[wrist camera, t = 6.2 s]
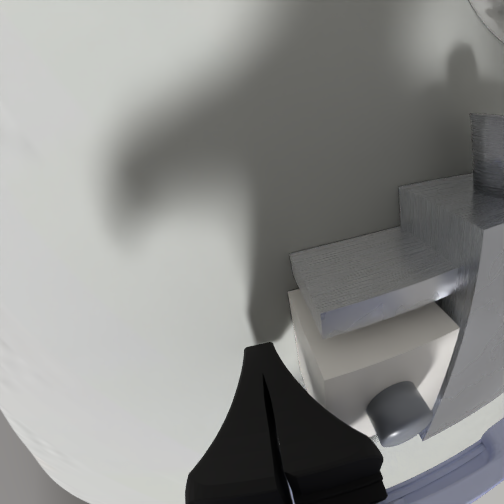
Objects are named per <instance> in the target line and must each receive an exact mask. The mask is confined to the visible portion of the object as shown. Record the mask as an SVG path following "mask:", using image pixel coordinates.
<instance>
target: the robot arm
mask: <svg viewBox="0 0 504 504" xmlns="http://www.w3.org/2000/svg"><path fill="white" fill-rule="evenodd" d="M278 439H279V440H278ZM382 463H383V456H382V454H381V452H380V451H379V449H378V448H377V446H376V445H375V444H374V443H373V442H372V440H371V439H370V438H369V437H368V436H367V435H365V434H363V433H361V432H359V431H357V430H356V429H354V428H352V427H351V426H349V425H347V424H346V423H344V422H343V421H341V420H340V419H338V418H337V417H336V416H334V415H333V414H332V413H330V412H329V411H328V410H326V409H325V408H324V407H323V406H322V405H320V404H319V403H318V402H317V401H316V400H315V399H314V398H313V397H312V396H310V395H309V394H308V393H307V392H306V390H305V389H304V388H303V387H302V386H301V385H300V384H299V383H298V382H297V380H296V379H295V378H294V377H293V376H292V374H291V373H290V372H289V370H288V369H287V368H286V366H285V365H284V363H283V362H282V360H281V359H280V357H279V355H278V354H277V352H276V350H275V347H274V345H273V343H272V342H267V343H263V344H259V345H254V346H250V347H246V348H245V349H244V359H243V366H242V371H241V375H240V379H239V383H238V387H237V390H236V393H235V396H234V399H233V402H232V404H231V407H230V410H229V412H228V414H227V416H226V419H225V421H224V423H223V425H222V427H221V429H220V430H219V432H218V434H217V436H216V438H215V439H214V441H213V442H212V444H211V445H210V447H209V448H208V450H207V451H206V453H205V454H204V456H203V457H202V459H201V460H200V461H199V462H198V464H197V465H196V466H195V467H194V468H193V470H192V471H191V472H190V473H189V475H188V479H187V484H186V490H185V502H186V504H471V503H472V502H474V501H475V500H477V499H478V498H480V497H481V496H483V495H484V494H486V493H487V492H488V491H490V490H491V489H492V488H494V487H495V486H497V485H498V484H499V483H500V482H502V481H503V480H504V418H503V419H501V420H500V421H498V422H497V423H496V424H494V425H493V426H492V427H490V428H489V429H488V430H487V431H486V432H485V433H484V434H483V436H482V437H481V439H480V440H479V441H477V442H476V443H474V444H473V445H471V446H469V447H468V448H466V449H465V450H463V451H461V452H460V453H458V454H456V455H455V456H453V457H451V458H449V459H448V460H446V461H444V462H442V463H440V464H439V465H437V466H435V467H433V468H431V469H429V470H427V471H425V472H423V473H421V474H419V475H417V476H415V477H413V478H411V479H409V480H406V481H404V482H402V483H400V484H397V485H395V486H393V487H390V488H388V489H385V487H384V484H383V482H382V480H383V477H382V475H381V472H380V468H381V466H382Z"/></svg>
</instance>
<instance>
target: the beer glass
mask: <svg viewBox="0 0 504 504" xmlns="http://www.w3.org/2000/svg"><path fill="white" fill-rule="evenodd" d="M469 2H470V3H471V5H472V7H473V8H474V10H475V12H476V13H477V15H478V16H479V18H480V19H481V20H482V22H483V23H484V24H485V26H486V27H487V28H488V29H489V30H490V31H491V32H492V33H493V34H494V35H495V36H496V37H497V38H498V39H499V40H501V41H502V42H503V43H504V0H469Z"/></svg>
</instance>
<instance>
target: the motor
mask: <svg viewBox="0 0 504 504" xmlns="http://www.w3.org/2000/svg"><path fill="white" fill-rule="evenodd" d="M470 123H471V135H472V153H473V173H470V174H464V175H458V176H452V177H447V178H441V179H436V180H431V181H425V182H420V183H415V184H409V185H404V186H399V206H400V226H398V227H394V228H390V229H386V230H383V231H379V232H375V233H371V234H367V235H363V236H359V237H355V238H351V239H347V240H343V241H339V242H335V243H331V244H327V245H323V246H319V247H315V248H311V249H307V250H303V251H299V252H295V253H291V254H290V260H291V266H292V271H293V276H294V278H295V281H296V283H297V285H298V287H299V289H300V291H301V293H302V295H303V297H304V300H305V302H306V304H307V306H308V308H309V310H310V313H311V315H312V317H313V319H314V321H315V323H316V326H317V328H318V330H319V332H320V334H321V336H322V339H326V338H329V337H333V336H336V335H340V334H343V333H346V332H349V331H352V330H356V329H359V328H362V327H365V326H368V325H371V324H374V323H377V322H380V321H383V320H386V319H388V318H391V317H394V316H397V315H400V314H402V313H405V312H408V311H410V310H413V309H416V308H418V307H421V306H423V305H426V304H429V303H431V302H435V303H436V304H437V305H438V306H439V307H440V308H441V309H442V310H443V311H444V312H445V313H446V314H447V315H448V316H449V317H450V318H451V319H452V320H453V321H454V322H455V323H456V324H457V325H458V326H459V327H460V330H459V333H458V337H457V341H456V344H455V347H454V351H453V354H452V357H451V360H450V363H449V366H448V369H447V372H446V375H445V378H444V380H443V383H442V386H441V388H440V391H439V394H438V396H437V399H436V401H435V404H434V406H433V408H432V410H431V412H432V413H433V418H432V420H431V421H430V423H429V424H428V425H427V426H426V428H424V429H423V430H422V431H421V432H420V433H419V435H420V437H421V439H422V441H424V440H426V439H428V438H430V437H432V436H434V435H436V434H438V433H440V432H441V431H443V430H445V429H447V428H449V427H451V426H452V425H454V424H456V423H458V422H459V421H461V420H463V419H464V418H466V417H468V416H469V415H471V414H472V413H474V412H476V411H477V410H479V409H480V408H482V407H483V406H485V405H486V404H488V403H489V402H491V401H492V400H494V399H495V398H497V397H498V396H499V395H501V394H502V393H504V116H502V115H494V114H481V113H470Z"/></svg>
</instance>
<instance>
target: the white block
mask: <svg viewBox="0 0 504 504" xmlns="http://www.w3.org/2000/svg"><path fill="white" fill-rule="evenodd" d="M288 297H289V303H290V309H291V315H292V321H293V327H294V333H295V340H296V346H297V353H298V359H299V366H300V371H301V374H302V377H303V380H304V383H305V386H306V389H307V392H308V394H309V395H310V396H312V397H313V398H314V399H315V400H316V401H317V402H318V403H319V404H320V405H322V406H323V407H324V408H325V409H326V410H328V411H329V412H330V413H332V414H333V415H334V416H336V417H337V418H338V419H340V420H341V421H343V422H344V423H346V424H347V425H349V426H351V427H352V428H354V429H356V430H357V431H359V432H361V433H363V434H365V435H367V436H368V437H371V436H373V435H376V434H377V436H378V438H379V441H380V443H381V445H382V446H383V447H392V446H396V445H399V444H401V443H404V442H406V441H408V440H410V439H411V438H413V437H414V436H416V435H417V434H419V433H420V432H421V431H422V430H423V429H424V428H426V426H427V425H428V424H429V423H430V421H431V420H432V418H433V413H432V412H431V410H432V408H433V406H434V404H435V401H436V399H437V396H438V394H439V391H440V388H441V386H442V383H443V380H444V378H445V375H446V372H447V369H448V366H449V363H450V360H451V357H452V354H453V351H454V347H455V344H456V341H457V337H458V333H459V330H460V327H459V326H458V325H457V324H456V323H455V322H454V321H453V320H452V319H451V318H450V317H449V316H448V315H447V314H446V313H445V312H444V311H443V310H442V309H441V308H440V307H439V306H438V305H437V304H436V303H435V302H431V303H429V304H426V305H423V306H421V307H418V308H416V309H413V310H410V311H408V312H405V313H402V314H400V315H397V316H394V317H391V318H388V319H386V320H383V321H380V322H377V323H374V324H371V325H368V326H365V327H362V328H359V329H356V330H352V331H349V332H346V333H343V334H340V335H336V336H333V337H329V338H326V339H322V336H321V334H320V332H319V330H318V328H317V326H316V323H315V321H314V319H313V317H312V315H311V313H310V310H309V308H308V306H307V304H306V302H305V300H304V297H303V295H302V293H301V291H300V289H296V290H292V291H288Z"/></svg>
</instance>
